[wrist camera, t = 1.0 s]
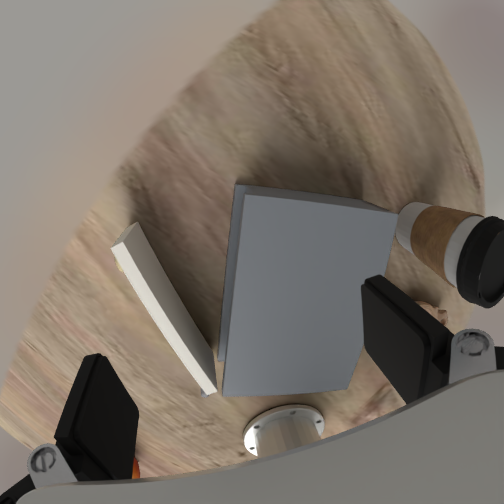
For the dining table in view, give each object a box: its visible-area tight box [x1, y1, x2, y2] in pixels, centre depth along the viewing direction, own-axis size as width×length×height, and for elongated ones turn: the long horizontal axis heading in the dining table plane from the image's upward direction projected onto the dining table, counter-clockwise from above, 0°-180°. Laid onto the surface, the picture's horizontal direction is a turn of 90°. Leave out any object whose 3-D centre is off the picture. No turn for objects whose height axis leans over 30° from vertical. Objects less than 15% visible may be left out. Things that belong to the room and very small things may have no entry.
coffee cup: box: [395, 202, 504, 308], centre depth 28 cm, size 8×8×15 cm
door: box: [111, 222, 218, 397], centre depth 30 cm, size 18×2×7 cm, turn 23°
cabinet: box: [217, 184, 399, 396], centre depth 32 cm, size 20×14×7 cm
